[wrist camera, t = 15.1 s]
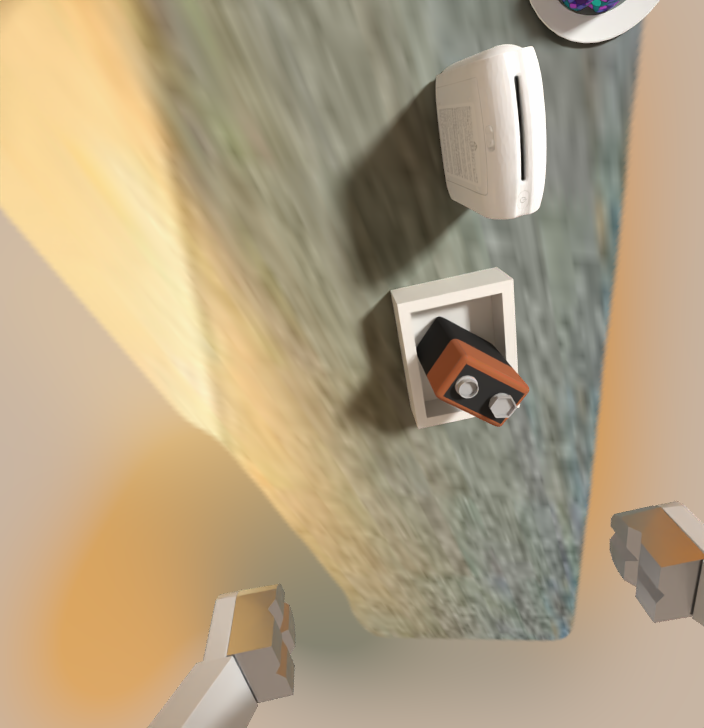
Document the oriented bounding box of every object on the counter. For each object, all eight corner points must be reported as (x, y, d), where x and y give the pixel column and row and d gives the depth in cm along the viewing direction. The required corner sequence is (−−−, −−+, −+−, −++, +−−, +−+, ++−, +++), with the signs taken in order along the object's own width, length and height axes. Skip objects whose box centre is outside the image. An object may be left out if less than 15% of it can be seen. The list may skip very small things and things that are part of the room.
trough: (390, 290, 44) (397, 304, 40) (496, 266, 44) (513, 279, 40) (410, 407, 50) (418, 428, 46) (504, 387, 50) (519, 407, 46)
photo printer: (494, 194, 41) (562, 218, 30) (445, 206, 41) (495, 234, 30) (483, 56, 36) (558, 23, 25) (428, 69, 37) (479, 44, 26)
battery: (468, 379, 48) (504, 436, 39) (412, 350, 46) (436, 404, 37) (494, 343, 46) (538, 395, 37) (437, 312, 44) (468, 359, 35)
